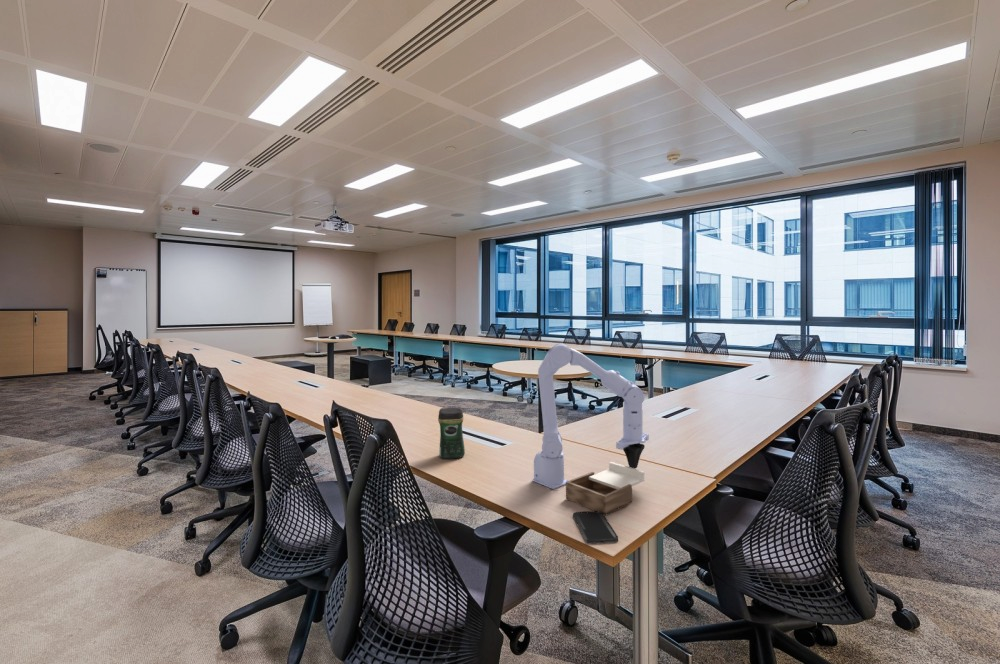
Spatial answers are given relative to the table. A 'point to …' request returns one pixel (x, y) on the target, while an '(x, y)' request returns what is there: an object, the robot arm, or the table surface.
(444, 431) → the coffee jar
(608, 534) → the phone
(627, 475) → the lid
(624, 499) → the box
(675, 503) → the table surface
